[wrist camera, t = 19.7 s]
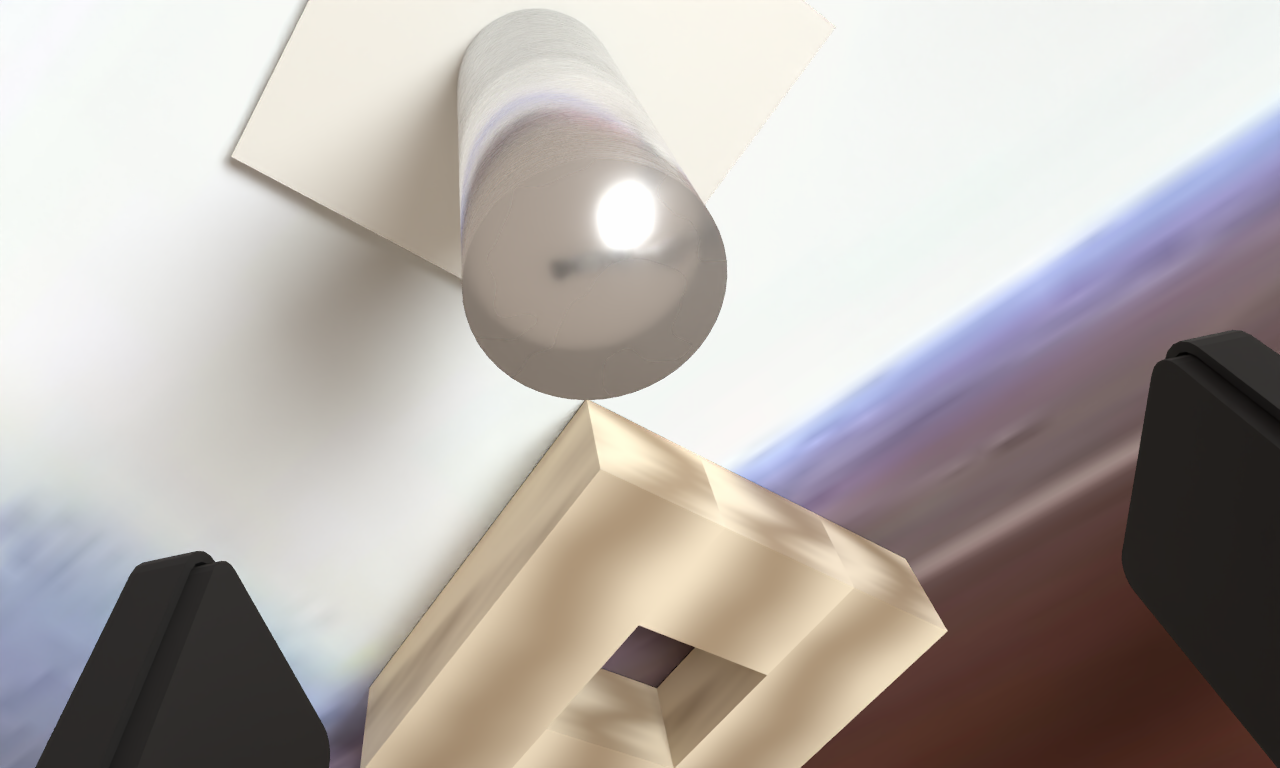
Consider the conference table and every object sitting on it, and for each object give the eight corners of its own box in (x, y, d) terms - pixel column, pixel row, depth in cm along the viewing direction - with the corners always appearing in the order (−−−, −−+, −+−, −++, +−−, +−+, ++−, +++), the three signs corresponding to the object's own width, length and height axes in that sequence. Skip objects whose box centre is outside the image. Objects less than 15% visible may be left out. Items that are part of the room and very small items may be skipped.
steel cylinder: (603, -6, 24) (713, 132, 14) (628, 154, 26) (737, 370, 16) (437, 25, 24) (430, 190, 14) (478, 185, 26) (497, 422, 16)
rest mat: (828, 22, 26) (836, 26, 25) (594, 342, 30) (596, 351, 30) (452, -286, 21) (452, -288, 20) (235, 149, 25) (231, 156, 25)
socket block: (905, 558, 38) (947, 631, 34) (679, 782, 44) (696, 863, 40) (586, 398, 31) (600, 469, 28) (369, 687, 37) (359, 774, 34)
